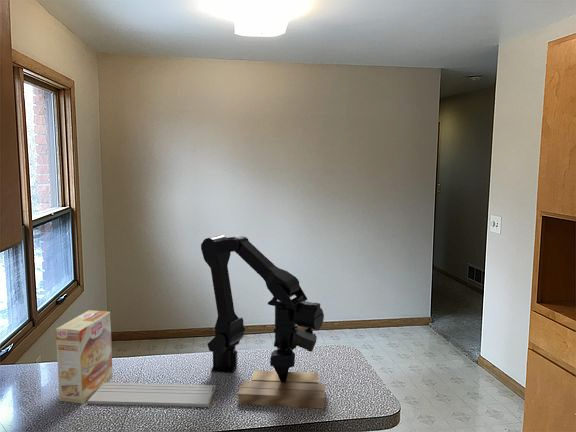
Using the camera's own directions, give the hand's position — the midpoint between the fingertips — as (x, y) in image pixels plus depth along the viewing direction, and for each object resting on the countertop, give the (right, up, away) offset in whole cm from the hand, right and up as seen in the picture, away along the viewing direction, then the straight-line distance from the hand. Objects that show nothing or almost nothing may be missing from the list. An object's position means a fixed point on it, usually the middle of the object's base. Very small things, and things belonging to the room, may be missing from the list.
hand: (285, 375), depth 129 cm
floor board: (-1, -3, -7) cm, 8 cm away
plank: (0, -3, 0) cm, 3 cm away
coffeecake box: (-53, -3, -3) cm, 54 cm away
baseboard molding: (-34, -4, -5) cm, 35 cm away
